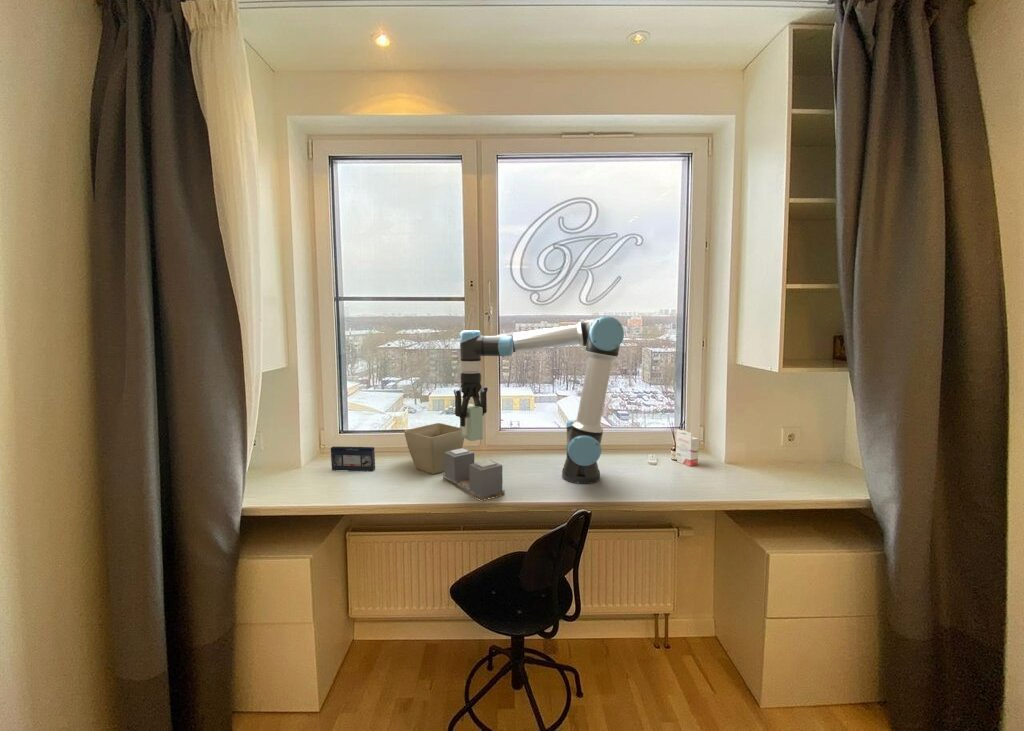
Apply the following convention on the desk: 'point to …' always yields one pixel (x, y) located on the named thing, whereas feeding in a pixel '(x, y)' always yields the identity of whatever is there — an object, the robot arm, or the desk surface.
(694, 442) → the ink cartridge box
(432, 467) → the flower pot
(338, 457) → the vhs cassette tape
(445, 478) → the rail board
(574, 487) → the desk surface
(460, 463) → the mounted modules
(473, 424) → the block
